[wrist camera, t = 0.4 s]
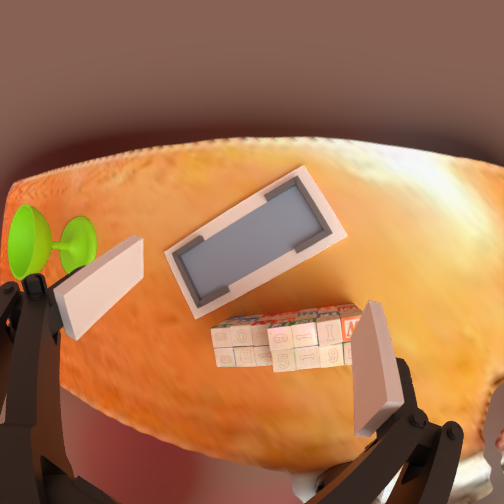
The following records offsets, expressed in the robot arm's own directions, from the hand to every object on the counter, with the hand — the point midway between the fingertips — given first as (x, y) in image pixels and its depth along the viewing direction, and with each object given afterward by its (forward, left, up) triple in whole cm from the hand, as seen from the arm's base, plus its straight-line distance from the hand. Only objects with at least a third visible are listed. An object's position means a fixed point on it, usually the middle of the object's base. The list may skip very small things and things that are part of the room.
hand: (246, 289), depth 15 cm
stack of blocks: (-8, +5, -31) cm, 32 cm away
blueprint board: (+8, +5, -31) cm, 32 cm away
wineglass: (+30, +44, -31) cm, 62 cm away
